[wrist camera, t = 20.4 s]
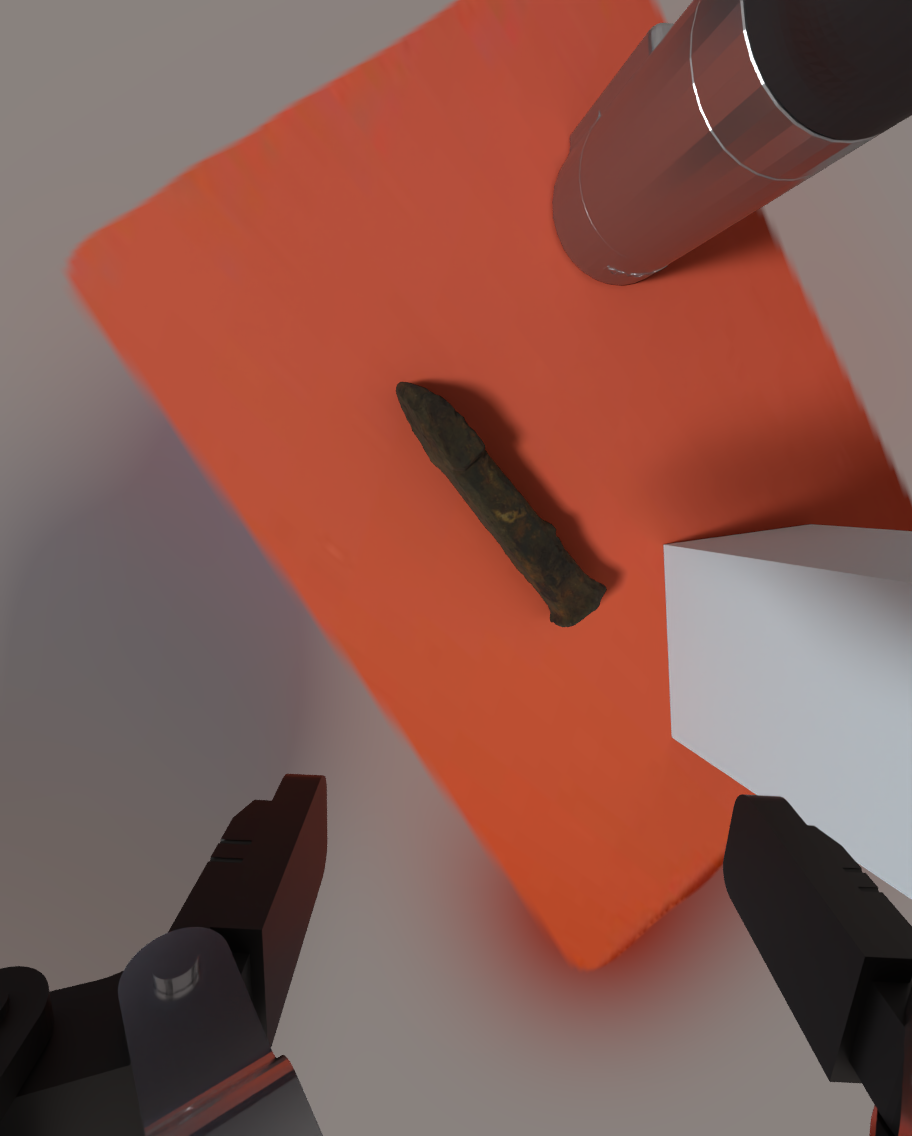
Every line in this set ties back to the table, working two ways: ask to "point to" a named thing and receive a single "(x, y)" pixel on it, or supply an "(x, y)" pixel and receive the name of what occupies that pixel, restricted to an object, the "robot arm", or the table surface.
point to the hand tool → (500, 506)
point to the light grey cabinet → (802, 676)
